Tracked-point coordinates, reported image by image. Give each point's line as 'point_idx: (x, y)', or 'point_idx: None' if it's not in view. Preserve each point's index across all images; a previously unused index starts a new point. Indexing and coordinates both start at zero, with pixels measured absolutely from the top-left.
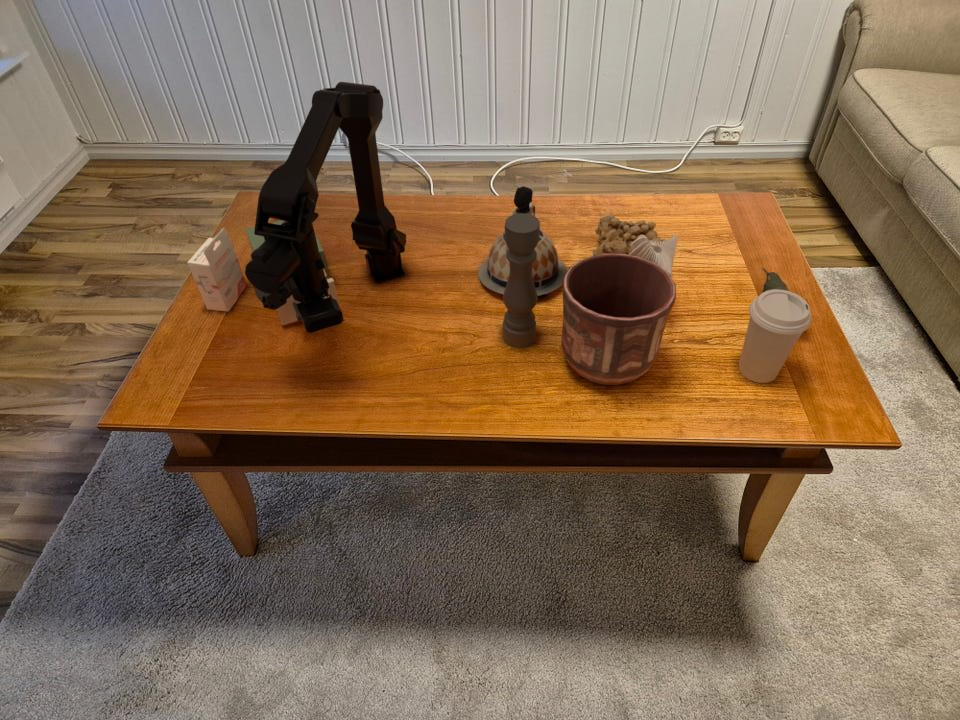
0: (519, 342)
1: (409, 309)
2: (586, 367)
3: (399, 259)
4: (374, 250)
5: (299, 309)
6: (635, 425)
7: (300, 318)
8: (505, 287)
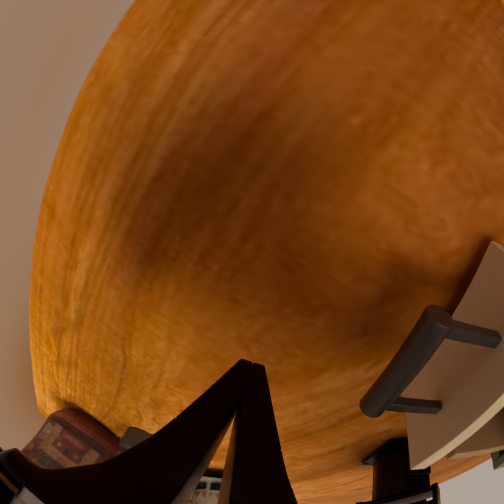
0: (125, 433)
1: (283, 437)
2: (53, 420)
3: (373, 483)
4: (403, 496)
5: (37, 495)
6: (39, 383)
7: (421, 325)
8: (215, 482)
